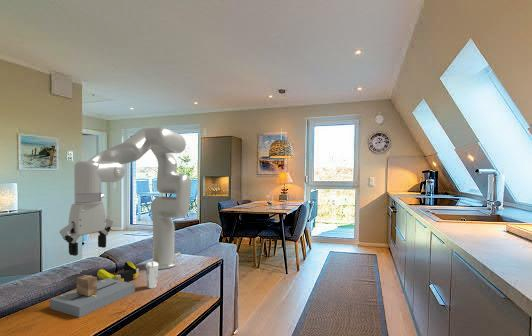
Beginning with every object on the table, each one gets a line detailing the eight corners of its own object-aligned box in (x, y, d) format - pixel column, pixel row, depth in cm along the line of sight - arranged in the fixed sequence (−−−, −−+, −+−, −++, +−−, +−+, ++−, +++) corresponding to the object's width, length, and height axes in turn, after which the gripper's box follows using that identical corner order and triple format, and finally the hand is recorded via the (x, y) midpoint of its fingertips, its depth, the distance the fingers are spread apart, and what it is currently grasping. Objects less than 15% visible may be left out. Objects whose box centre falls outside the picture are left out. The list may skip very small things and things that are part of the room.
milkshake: (145, 290, 105) (145, 262, 105) (145, 285, 110) (145, 258, 110) (158, 288, 107) (159, 261, 107) (158, 283, 112) (158, 257, 112)
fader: (85, 289, 97) (85, 274, 97) (97, 292, 95) (97, 276, 95) (76, 293, 94) (76, 277, 94) (87, 296, 92) (88, 280, 92)
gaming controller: (94, 284, 111) (111, 289, 107) (94, 270, 111) (111, 274, 107) (128, 272, 125) (145, 276, 120) (128, 259, 125) (145, 262, 120)
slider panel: (107, 286, 109) (107, 277, 109) (134, 292, 104) (134, 283, 104) (49, 308, 91) (50, 298, 91) (79, 317, 85) (79, 306, 85)
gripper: (104, 196, 105) (104, 243, 105) (52, 201, 89) (53, 257, 89) (119, 196, 102) (119, 245, 102) (68, 202, 86) (68, 260, 86)
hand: (88, 250), depth 95 cm, fingers open, 9 cm apart
